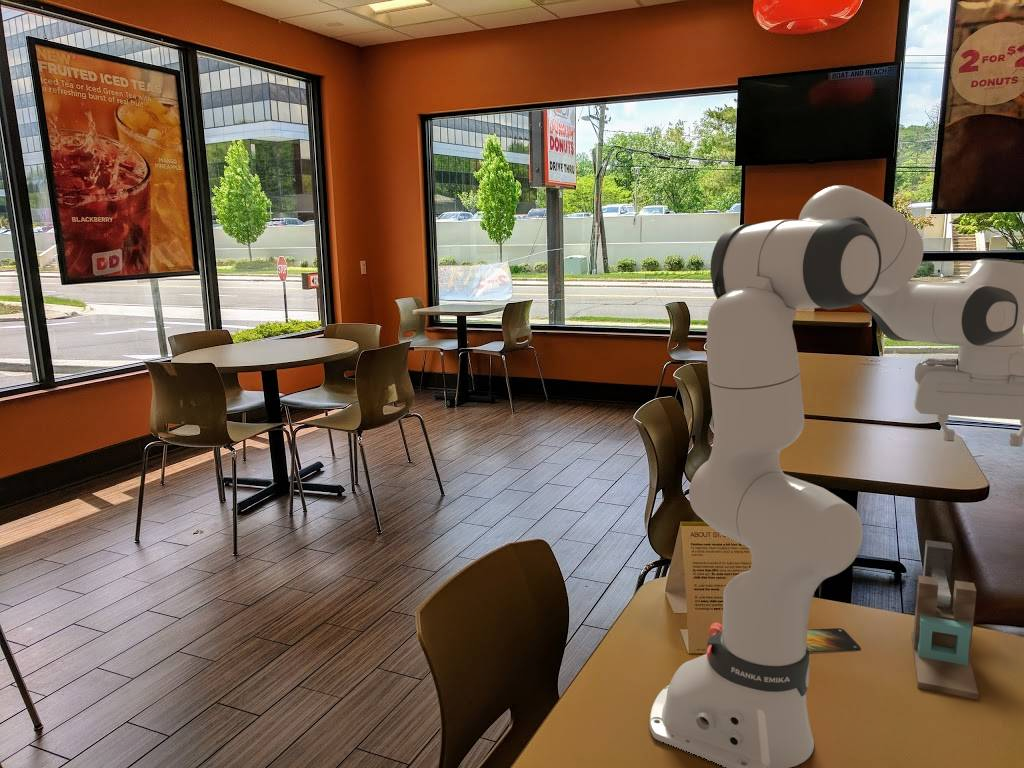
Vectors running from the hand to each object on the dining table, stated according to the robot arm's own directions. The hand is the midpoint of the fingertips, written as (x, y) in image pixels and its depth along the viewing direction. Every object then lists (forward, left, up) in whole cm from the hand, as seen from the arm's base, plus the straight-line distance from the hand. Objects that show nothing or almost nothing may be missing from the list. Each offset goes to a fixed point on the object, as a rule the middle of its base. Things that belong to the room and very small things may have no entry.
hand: (981, 443), depth 121 cm
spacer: (-4, -10, -34) cm, 36 cm away
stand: (-4, -11, -35) cm, 37 cm away
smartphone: (-24, -11, -36) cm, 44 cm away
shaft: (-4, +1, -28) cm, 28 cm away
